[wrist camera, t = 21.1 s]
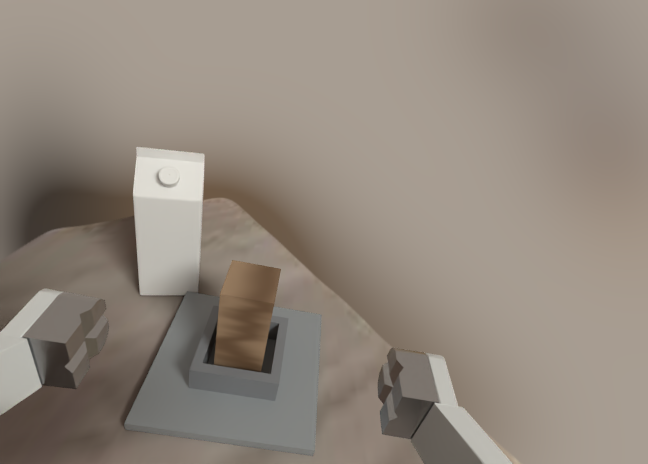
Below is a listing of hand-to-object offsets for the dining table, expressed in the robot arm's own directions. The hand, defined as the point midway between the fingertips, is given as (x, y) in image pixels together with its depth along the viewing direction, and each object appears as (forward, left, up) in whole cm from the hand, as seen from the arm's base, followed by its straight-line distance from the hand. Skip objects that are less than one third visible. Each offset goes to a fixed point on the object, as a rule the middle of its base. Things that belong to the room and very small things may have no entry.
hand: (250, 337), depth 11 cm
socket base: (-2, +21, -30) cm, 37 cm away
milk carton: (-14, +33, -30) cm, 47 cm away
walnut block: (-2, +21, -29) cm, 36 cm away
